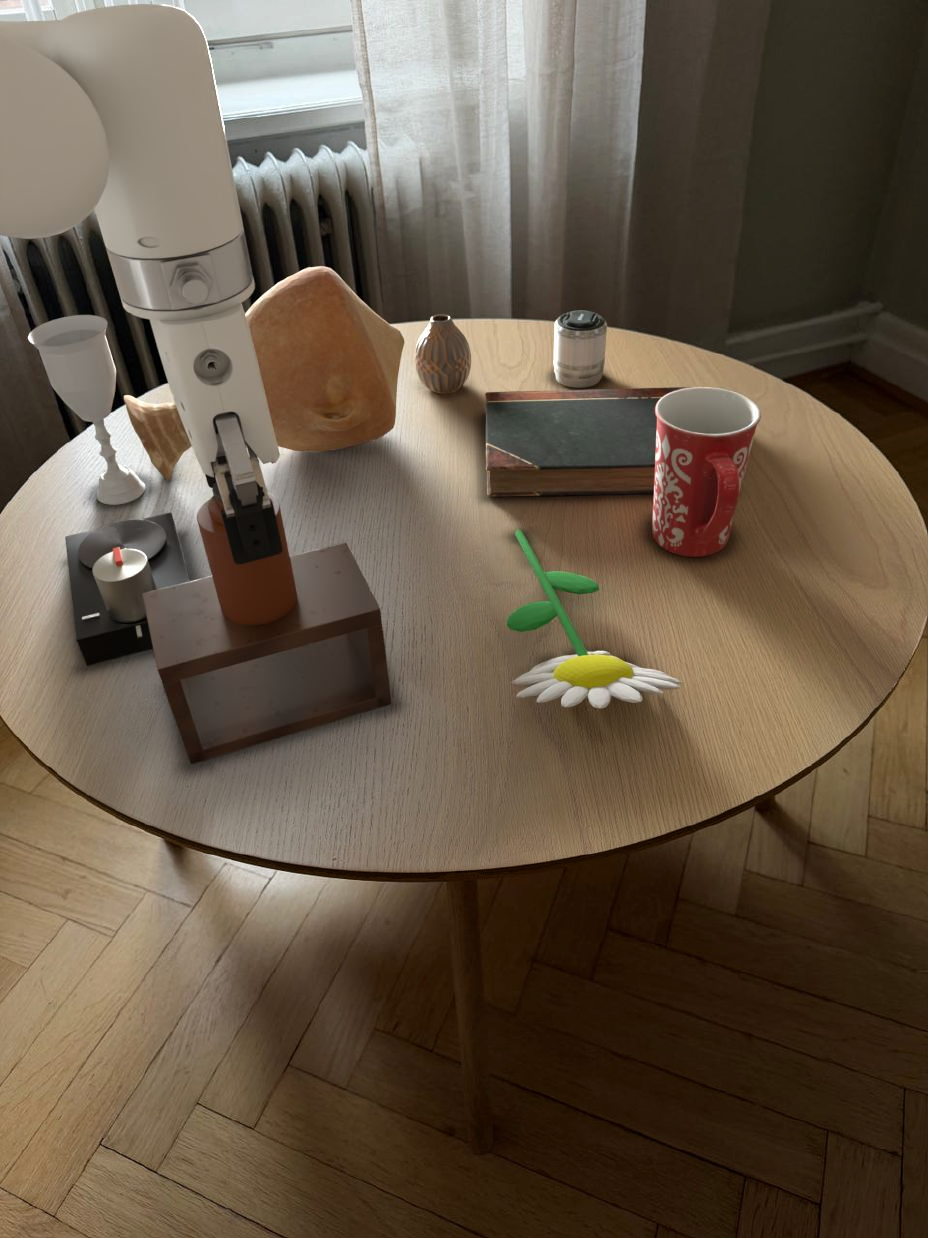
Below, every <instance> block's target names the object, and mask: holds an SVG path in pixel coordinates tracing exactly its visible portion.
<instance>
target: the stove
mask: <svg viewBox="0 0 928 1238" xmlns="http://www.w3.org/2000/svg"><path fill="white" fill-rule="evenodd" d="M140 519H141V520H148V521H152V522H154V523H157V524H158V525H160V526H161V527H162V528H163V529H164V530H165V533H166V536H167V542H166V545H165V547H164V549H163V550H162V552H161V553H160V554H159V555H158V556H157V557H155V558H154V559H153V560H151V561H150V562H148V563H149V566H150V569H151V572H152V575H153V578H154V581H155V585H156V588H157V590H158V589H162V588H166V587H170V586H174V585H178V584H182V583H186V582H190V581H191V577H190V574H189V569H188V565H187V563H186V562H187V561H186V558H185V555H184V552H183V551H184V550H183V547H182V544H181V539H180V536H179V533H178V529H177V526H176V523H175V520H174V516H173V513H172V512H171V511H170V512H166V513H161V514H156V515H153V516H149V517H144V518H140ZM97 529H98V528H96V529H92V530H88V531H87V530H86V531H82V532H78V533H74V534H70V535H66V536H64V539H65V549H66V558H67V566H68V578H69V585H70V595H71V604H72V605H71V606H72V613H73V614H72V615H73V624H74V632H75V640H76V643H77V646H78V648H79V651H80V653H81V655H82V657H83V661H84V663H85V664H86V666H87V667H88V666H92V665H96V664H100V663H103V662H108V661H111V660H114V659H118V658H121V657H125V656H130V655H133V654H137V653H140V652H145V651H148V650H151V649H152V650H153V646H152V641H151V636H150V631H149V626H148V621H147V618H145V619H142V620H140V621H136V622H129V623H123V622H118V621H115V620H113V619H112V618H111V617H110V616H109V615H108V612H107V609H106V607H105V604H104V601H103V599H102V596H101V593H100V591H99V588H98V586H97V583H96V580H95V578H94V575H93V571H92V570H90V569H88V568H86V567H85V566H84V565H83V564H82V563H81V562H80V560H79V557H78V548H79V546H80V544H81V542H82V541H83V540H84V539H85V538H86V537H87V536H88V535H89V534H91V533H92V532H93V531H95V530H97Z"/></svg>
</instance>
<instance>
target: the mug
mask: <svg viewBox="0 0 928 1238" xmlns="http://www.w3.org/2000/svg"><path fill="white" fill-rule="evenodd" d="M694 387H695V388H686V389H681V390H677V391H674V392H671V393H669V394H667V395H665V396H663V397H662V398H661V399H660V400H659V401H658V403H657V404H656V407H655V413H656V416H657V433H656V456H655V478H654V494H653V501H652V502H653V504H652V519H651V535H652V538H653V540H654V541H655V543H657V544H658V545H659V546H660V547H661V548H663V550H666V551H668V552H670V553H672V554H675V555H678V556H682V557H692V558H693V557H705V556H710V555H713V554H716V553H718V552H719V551H721V550H722V549H724V548H725V547H726V545H727V543H728V540H729V538H730V533H731V530H732V526H733V525H732V524H733V521H734V516H735V513H736V509H737V506H738V500H739V498H740V493H741V488H742V485H743V481H744V476H745V473H746V468H747V467H748V461H749V458H750V454H751V449H752V445H753V441H754V437H755V433H756V430H757V427H758V425H759V423H760V422H761V418H762V413H761V409H760V407H759V406H758V404H757V403H756V402H754V401H753V400H752V399H750V397H749V398H748V397H747V396H745V395H743V394H741V393H738V392H735V391H732V390H728V389H724V388H717V387H706V386H694Z"/></svg>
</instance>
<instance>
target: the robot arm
mask: <svg viewBox="0 0 928 1238" xmlns="http://www.w3.org/2000/svg"><path fill="white" fill-rule="evenodd" d="M204 33H205V32H204V30H203V28H202V26H201V25H200V23H199V22H198V21H197V20H196V18H195V17H194V16H193V15H191V14H190V13H188V12H187V11H186V10H185V9H182V8H180V7H175V6H173V5H167V4H155V3H153V4H152V3H135V4H133V3H132V4H121V5H111V6H104V7H103V6H102V7H97V8H92V9H88V10H87V9H86V10H83V11H77V12H75V13H72V14H69V15H67V16H65V17H64V18H62V19H53V20H52V19H51V20H22V21H16V20H15V21H14V20H13V21H12V20H11V21H6V20H3V21H2V20H0V236H3V237H7V238H16V239H24V240H25V239H26V240H31V239H45V238H50V237H53V236H57V235H61V234H63V233H65V232H67V231H69V230H71V229H73V228H75V227H77V226H78V225H79V224H80V223H82V222H83V221H84V220H85V219H86V218H88V217H89V216H90V214H91V213H92V212H93V210H94V212H95V216H96V219H97V222H98V227H99V230H100V232H101V236H102V239H103V243H104V246H105V251H106V254H107V256H108V260H109V263H110V267H111V269H112V273H113V276H114V279H115V284H116V287H117V291H118V293H119V298H120V300H121V304H122V307H123V309H124V310H125V311H126V312H127V313H129V314H131V315H132V316H135V317H138V318H141V319H146V320H149V323H150V326H151V330H152V334H153V337H154V340H155V343H156V348H157V351H158V354H159V357H160V361H161V364H162V367H163V371H164V374H165V377H166V380H167V383H168V386H169V390H170V392H171V395H172V398H173V401H174V402H175V404H176V407H177V410H178V412H179V415H180V418H181V420H182V423H183V426H184V428H185V430H186V433H187V435H188V438H189V440H190V443H191V445H192V447H191V448H192V450H193V452H194V454H195V457H196V459H197V462H198V464H199V467H200V468H201V469H200V470H201V471H202V473H203V474H204V476H205V479H206V483H207V485H208V487H209V488H211V489H212V488H213V486H214V484H215V483H216V482H217V485H218V489H219V492H220V495H221V499H222V502H223V506H224V510H220V511H221V515H222V519H223V523H224V527H225V530H226V534H227V538H228V542H229V546H230V549H231V553H232V557H233V560H234V562H235V563H236V564H244V563H248V562H252V561H255V560H259V559H263V558H267V557H271V556H275V555H278V554H280V553H281V552H282V550H283V548H282V543H281V538H280V534H279V529H278V525H277V520H276V515H275V511H274V506H273V502H272V499H271V498H269V496H268V493H269V492H268V489H267V486H266V481H265V479H264V475H263V471H262V469H261V468H262V467H261V465H260V462H261V463H262V464H263V465H265V464H269V463H271V464H272V465H273V464H276V463H277V462H278V461H279V458H280V455H281V454H280V449H279V446H278V445H277V441H276V437H275V433H274V429H273V425H272V421H271V416H270V412H269V408H268V403H267V399H266V395H265V390H264V386H263V382H262V377H261V373H260V369H259V365H258V360H257V356H256V352H255V348H254V344H253V341H252V337H251V333H250V329H249V326H248V323H247V319H246V316H245V313H246V312H245V309H244V306H243V304H242V303H243V302H245V301H247V300H248V299H249V298H250V297H251V296H252V294H253V293H254V291H255V289H256V282H255V279H254V275H253V269H252V264H251V260H250V254H249V248H248V244H247V238H246V234H245V228H244V222H243V218H242V213H241V212H242V211H241V208H240V202H239V197H238V192H237V186H236V181H235V177H234V172H233V171H234V170H233V167H232V161H231V157H230V151H229V145H228V141H227V136H226V131H225V124H224V119H223V115H222V110H221V109H222V108H221V104H220V100H219V94H218V89H217V85H216V78H215V73H214V69H213V63H212V57H211V54H210V50H209V44H208V41H207V38H206V35H205V34H204ZM229 476H232V481H233V485H234V488H231V489H230V490H231V491H230V493H229V490H228V486H227V483H226V479H225V477H229Z"/></svg>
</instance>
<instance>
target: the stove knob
mask: <svg viewBox="0 0 928 1238" xmlns="http://www.w3.org/2000/svg"><path fill="white" fill-rule="evenodd" d="M92 571H93V575H94V578H95V580H96V583H97V586H98V588H99V591H100V593H101V596H102V599H103V601H104V604H105V607H106V609H107V612H108V615H109V616H110V617H111V618H112V619H113V620H115V621H118V622H123V623H129V622H136V621H140V620H142V619H145V618H147V616H146V611H145V606H144V601H143V596H142V594H143V593H146V592H150V591H154V590H157V588H156V585H155V581H154V578H153V575H152V572H151V569H150V566H149V563H148V560H147V557H146V555H145V554H144V553H142V552H141V551H138V550H134V549H122V550H120V547H117V548H113V552H110V553H108V554H106V555H104V556H102V557H101V558H100V559H98V560H97V561H96V563H95V564H94V566H93V570H92Z"/></svg>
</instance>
